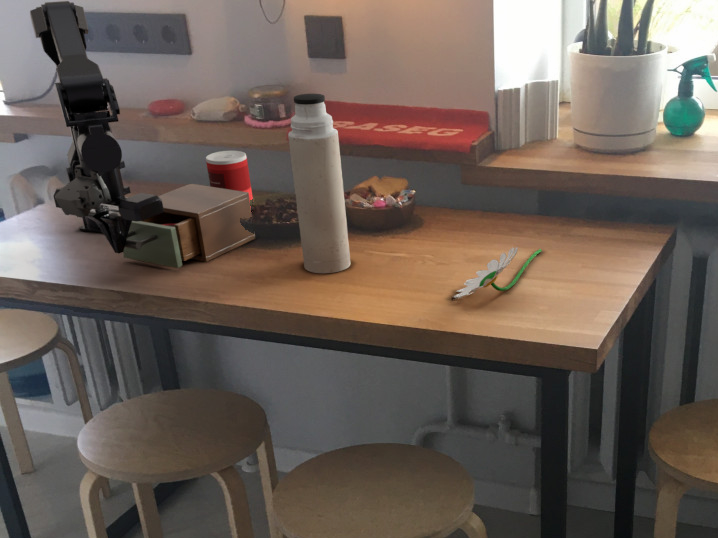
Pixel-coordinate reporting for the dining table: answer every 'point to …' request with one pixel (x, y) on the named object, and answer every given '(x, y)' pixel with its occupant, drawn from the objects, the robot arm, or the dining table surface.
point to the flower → (493, 274)
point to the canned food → (229, 171)
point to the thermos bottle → (318, 186)
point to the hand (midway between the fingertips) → (119, 252)
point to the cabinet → (212, 216)
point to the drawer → (163, 240)
